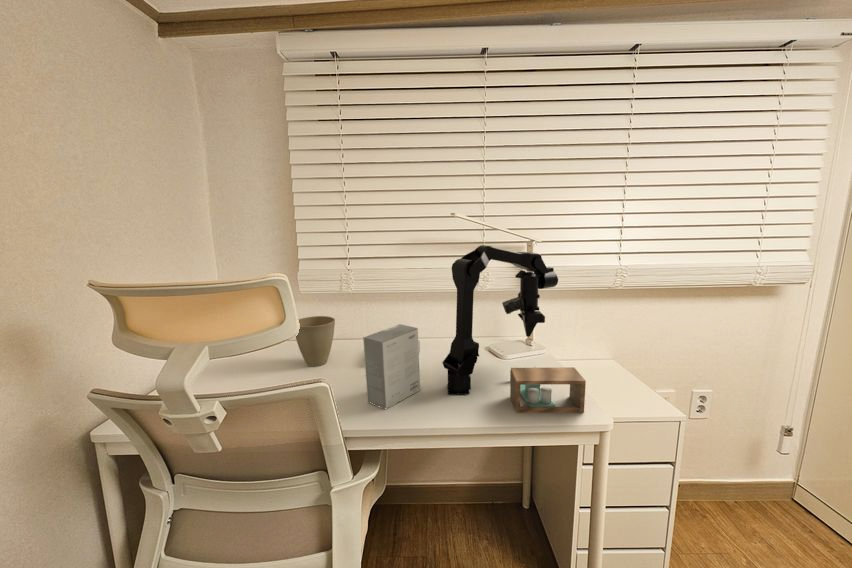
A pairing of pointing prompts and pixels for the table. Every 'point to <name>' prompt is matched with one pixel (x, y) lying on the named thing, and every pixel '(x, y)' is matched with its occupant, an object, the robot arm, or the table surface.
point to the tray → (525, 396)
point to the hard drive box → (392, 365)
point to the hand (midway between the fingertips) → (528, 336)
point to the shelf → (548, 377)
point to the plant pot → (315, 339)
